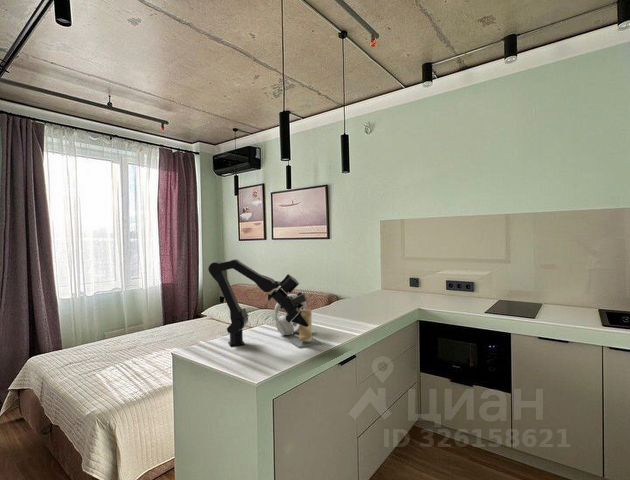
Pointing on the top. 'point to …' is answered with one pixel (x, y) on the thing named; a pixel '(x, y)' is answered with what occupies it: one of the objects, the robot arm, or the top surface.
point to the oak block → (306, 332)
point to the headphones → (282, 323)
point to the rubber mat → (304, 342)
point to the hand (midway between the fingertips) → (308, 324)
